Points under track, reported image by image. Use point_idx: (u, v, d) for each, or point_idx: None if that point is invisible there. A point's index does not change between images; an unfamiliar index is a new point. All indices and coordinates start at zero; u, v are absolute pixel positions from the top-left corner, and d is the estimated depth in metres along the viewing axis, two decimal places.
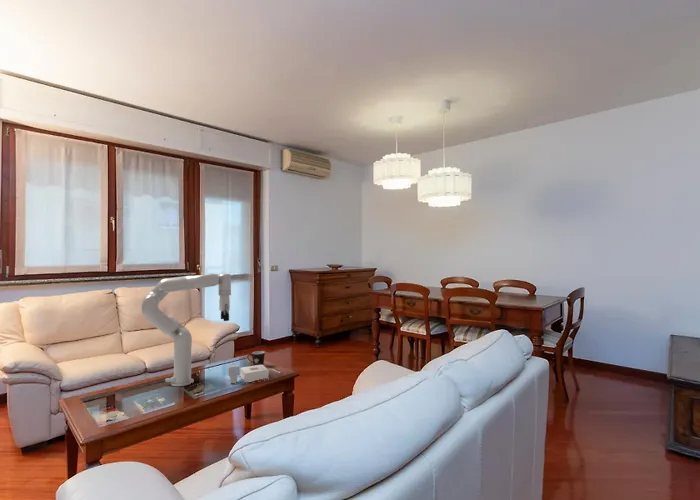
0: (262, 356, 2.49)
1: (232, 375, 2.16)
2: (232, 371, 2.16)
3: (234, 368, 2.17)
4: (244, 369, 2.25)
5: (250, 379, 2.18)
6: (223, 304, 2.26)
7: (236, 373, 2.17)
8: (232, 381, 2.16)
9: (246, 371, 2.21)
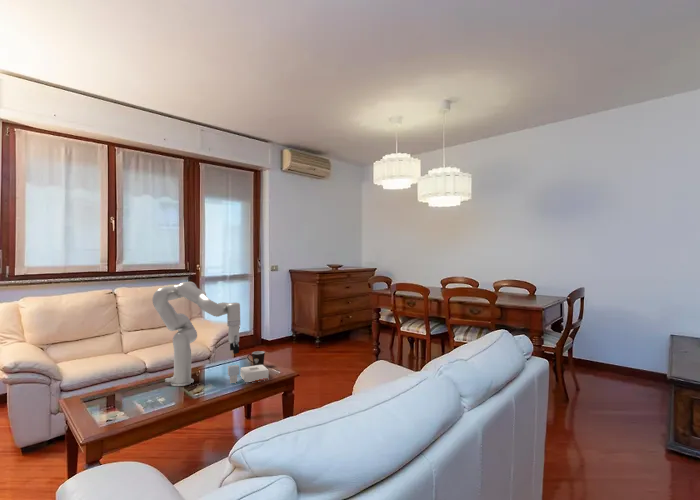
0: (262, 356, 2.49)
1: (232, 375, 2.16)
2: (232, 371, 2.16)
3: (234, 368, 2.17)
4: (244, 369, 2.25)
5: (250, 379, 2.18)
6: (232, 336, 2.14)
7: (236, 373, 2.17)
8: (232, 381, 2.16)
9: (246, 371, 2.21)
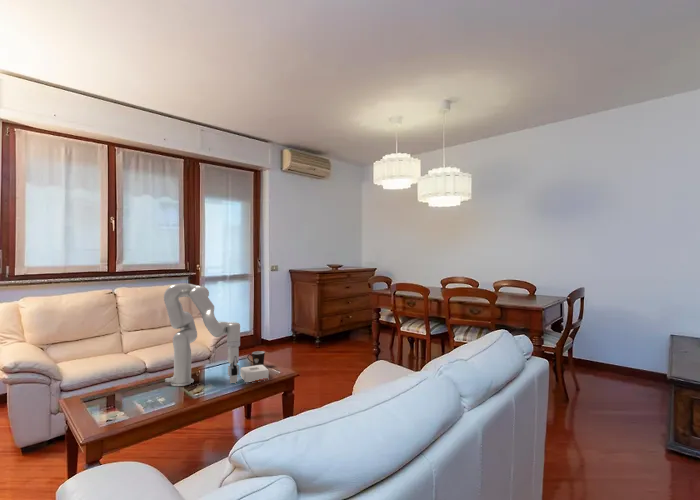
0: (262, 356, 2.49)
1: None
2: None
3: None
4: (244, 369, 2.25)
5: (250, 379, 2.18)
6: (232, 357, 2.14)
7: None
8: (232, 381, 2.16)
9: (246, 371, 2.21)
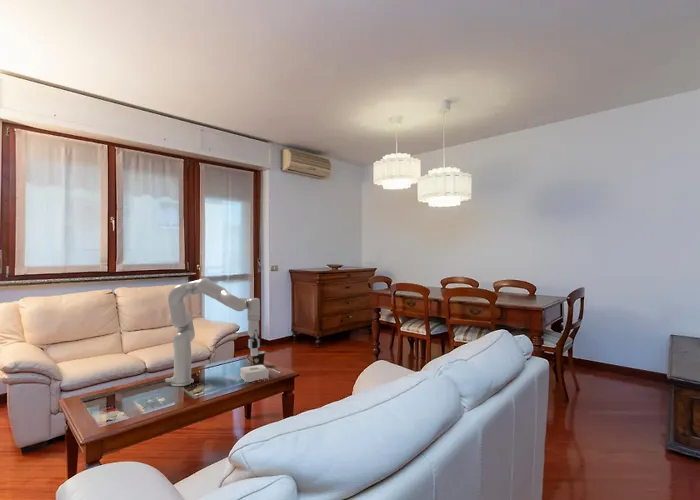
0: (262, 356, 2.49)
1: (253, 348, 2.24)
2: None
3: None
4: (244, 369, 2.25)
5: (250, 379, 2.18)
6: (252, 330, 2.22)
7: None
8: (253, 353, 2.24)
9: (246, 371, 2.21)
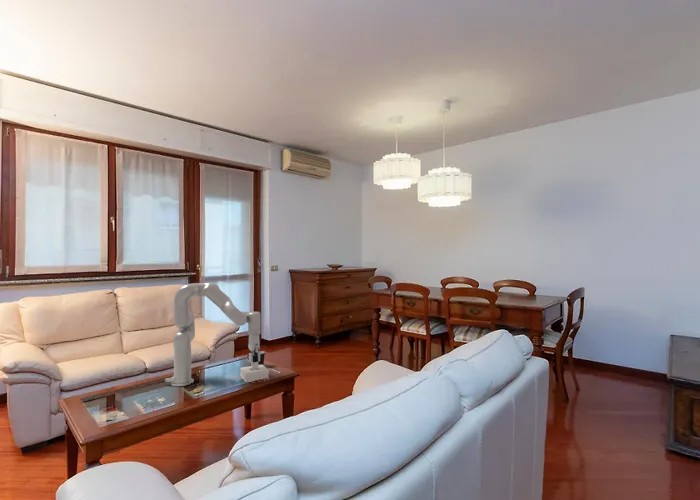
0: (262, 356, 2.49)
1: (253, 362, 2.24)
2: None
3: None
4: (244, 369, 2.25)
5: (250, 379, 2.18)
6: (253, 344, 2.22)
7: None
8: (253, 367, 2.24)
9: (246, 371, 2.21)
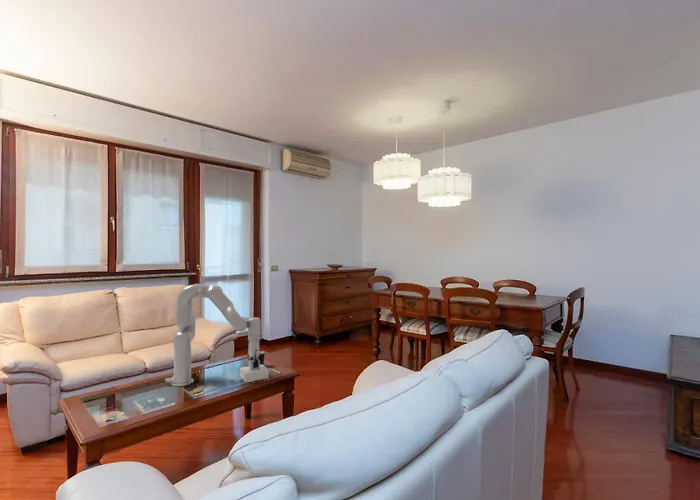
0: (262, 356, 2.49)
1: (253, 369, 2.24)
2: None
3: None
4: (244, 369, 2.25)
5: (250, 379, 2.18)
6: (253, 350, 2.22)
7: None
8: None
9: (246, 371, 2.21)
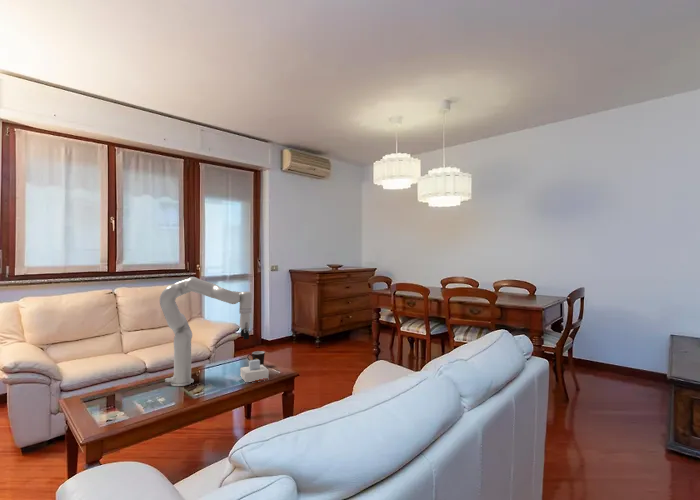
0: (262, 356, 2.49)
1: (253, 369, 2.24)
2: (253, 365, 2.24)
3: (255, 362, 2.25)
4: (244, 369, 2.25)
5: (250, 379, 2.18)
6: (243, 322, 2.27)
7: (257, 367, 2.25)
8: None
9: (246, 371, 2.21)
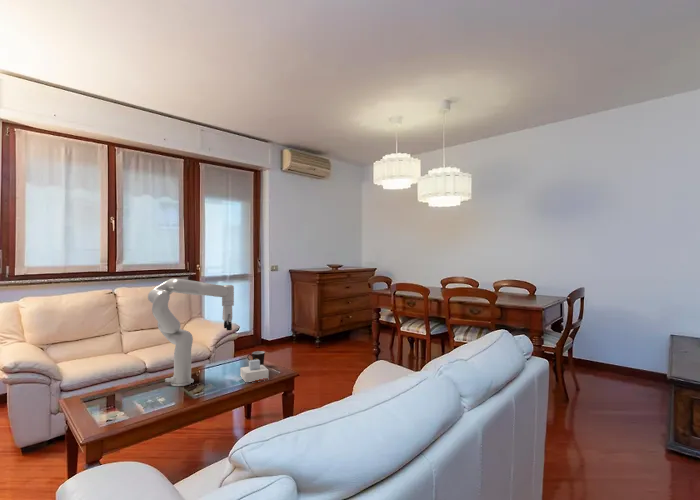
0: (262, 356, 2.49)
1: (253, 369, 2.24)
2: (253, 365, 2.24)
3: (255, 362, 2.25)
4: (244, 369, 2.25)
5: (250, 379, 2.18)
6: (226, 314, 2.37)
7: (257, 367, 2.25)
8: None
9: (246, 371, 2.21)
